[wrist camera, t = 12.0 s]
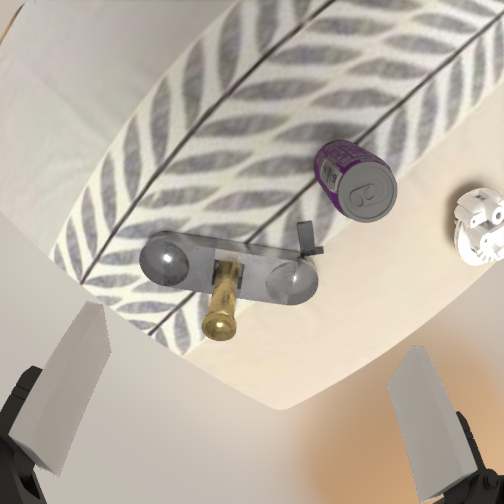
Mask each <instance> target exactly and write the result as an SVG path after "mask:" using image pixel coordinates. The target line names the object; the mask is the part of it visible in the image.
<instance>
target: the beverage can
mask: <svg viewBox="0 0 504 504" xmlns="http://www.w3.org/2000/svg"><path fill="white" fill-rule="evenodd" d="M314 172H315V176H316V178H317V180H318V182H319V183H320V185H321V186H322V188H323V189H324V191H325V192H326V194H327V195H328V197H329V198H330V200H331V201H332V203H333V204H334V206H335V207H336V208H337V210H338V211H339V212H340V213H342V214H343V215H344V216H346V217H348V218H351V219H353V220H355V221H358V222H363V223H369V222H374V221H377V220H379V219H381V218H383V217H384V216H385V215H386V214H388V213H389V211H390V210H391V209H392V207H393V205H394V203H395V201H396V197H397V183H396V180H395V177H394V176H393V174H392V172H391V170H390V168H389V166H388V165H387V164H386V163H385V162H384V161H383V160H382V159H381V158H379V157H377V156H375V155H374V154H372V153H370V152H368V151H366V150H365V149H363V148H361V147H359V146H357V145H355V144H353V143H351V142H349V141H344V140H338V141H333V142H330V143H328V144H326V145H325V146H324V147H323V148H322V149H321V150H320V151H319V152H318V154H317V156H316V159H315V162H314Z"/></svg>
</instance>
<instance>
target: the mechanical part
mask: <svg viewBox="0 0 504 504" xmlns="http://www.w3.org/2000/svg"><path fill="white" fill-rule="evenodd" d="M457 203H458V204H459V205H458V206H457V207H456V209H455V210H454V214H455V217H456V218H457V219H458V221H456V220H454V223H455V224H456V229H455V235H454V244H455V248H456V251H457V253H458V255H459V256H460V257H461V258H462V259H463V260H464V261H465V262H466V263H468V264H470V265H480V264H483V263H485V262H486V263H487V261H489V262H492V261H494V259H493V258H495V259H496V260H497V261H499V260H501V259H502V258H504V196H503V195H501V194H499V193H498V192H496V191H494V190H491V189H488V188H478V189H474V190H472V191H470V192H467V193H466V194H464V195H463V196H462V197H460V199H459V200H458V201H457Z"/></svg>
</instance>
